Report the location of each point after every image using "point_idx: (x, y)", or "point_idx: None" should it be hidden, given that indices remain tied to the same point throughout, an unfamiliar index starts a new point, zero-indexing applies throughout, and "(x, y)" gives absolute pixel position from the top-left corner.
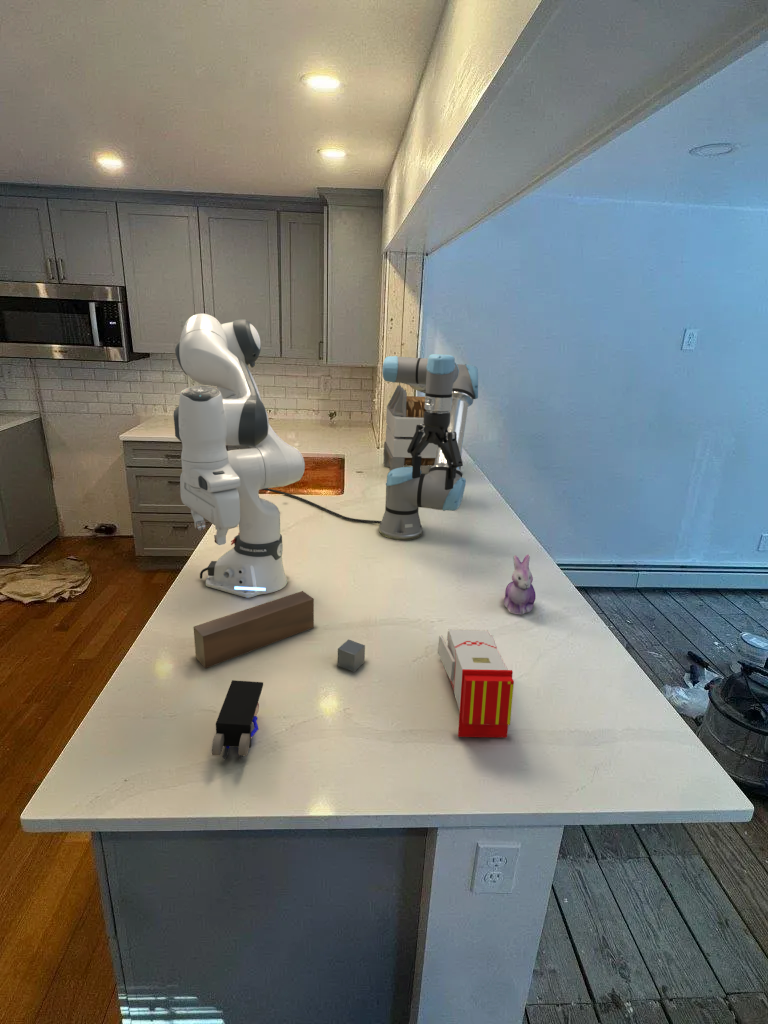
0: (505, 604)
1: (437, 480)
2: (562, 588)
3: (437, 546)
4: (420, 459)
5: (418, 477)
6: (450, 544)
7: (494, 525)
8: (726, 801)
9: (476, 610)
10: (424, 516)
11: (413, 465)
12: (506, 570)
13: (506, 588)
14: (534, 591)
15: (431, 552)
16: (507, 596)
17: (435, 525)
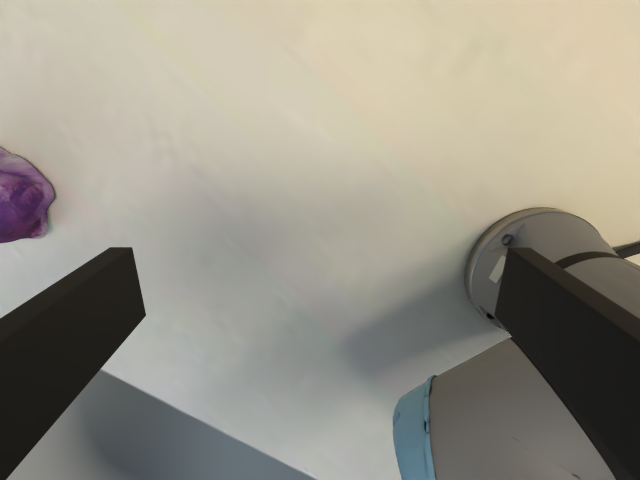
0: (18, 159)
1: (519, 467)
2: None
3: (389, 282)
4: (620, 445)
5: (497, 298)
6: (375, 316)
7: (385, 467)
8: None
9: (38, 79)
10: None
11: (614, 310)
12: (184, 312)
13: (10, 182)
14: None
15: (372, 242)
16: (13, 174)
17: None
